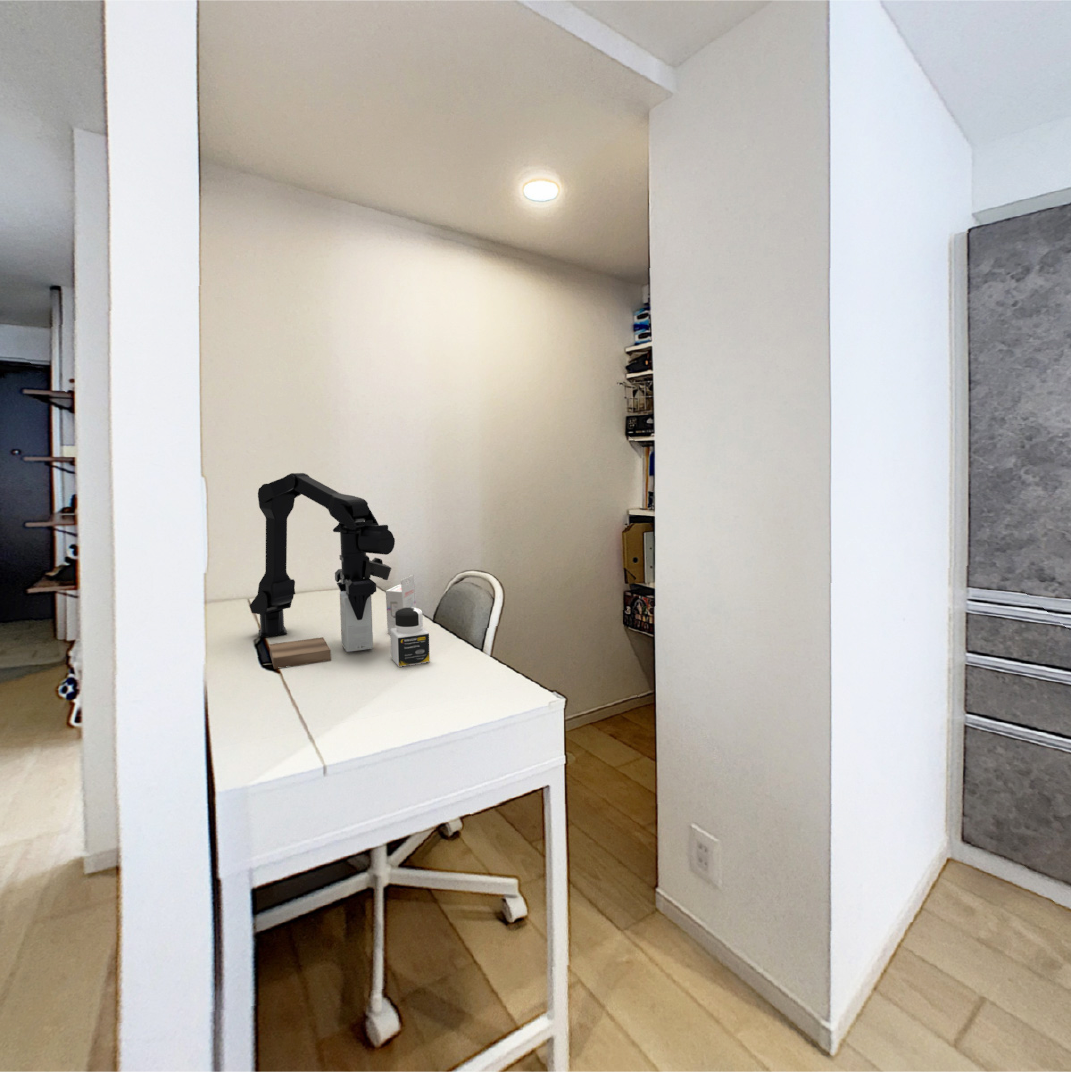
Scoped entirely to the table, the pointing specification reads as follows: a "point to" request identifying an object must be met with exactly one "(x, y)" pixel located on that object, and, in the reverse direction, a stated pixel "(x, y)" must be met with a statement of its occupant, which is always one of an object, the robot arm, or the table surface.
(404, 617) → the medicine bottle
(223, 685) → the table surface
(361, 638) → the small box
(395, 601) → the ink cartridge box
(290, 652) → the brown wooden slab
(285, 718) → the table surface
